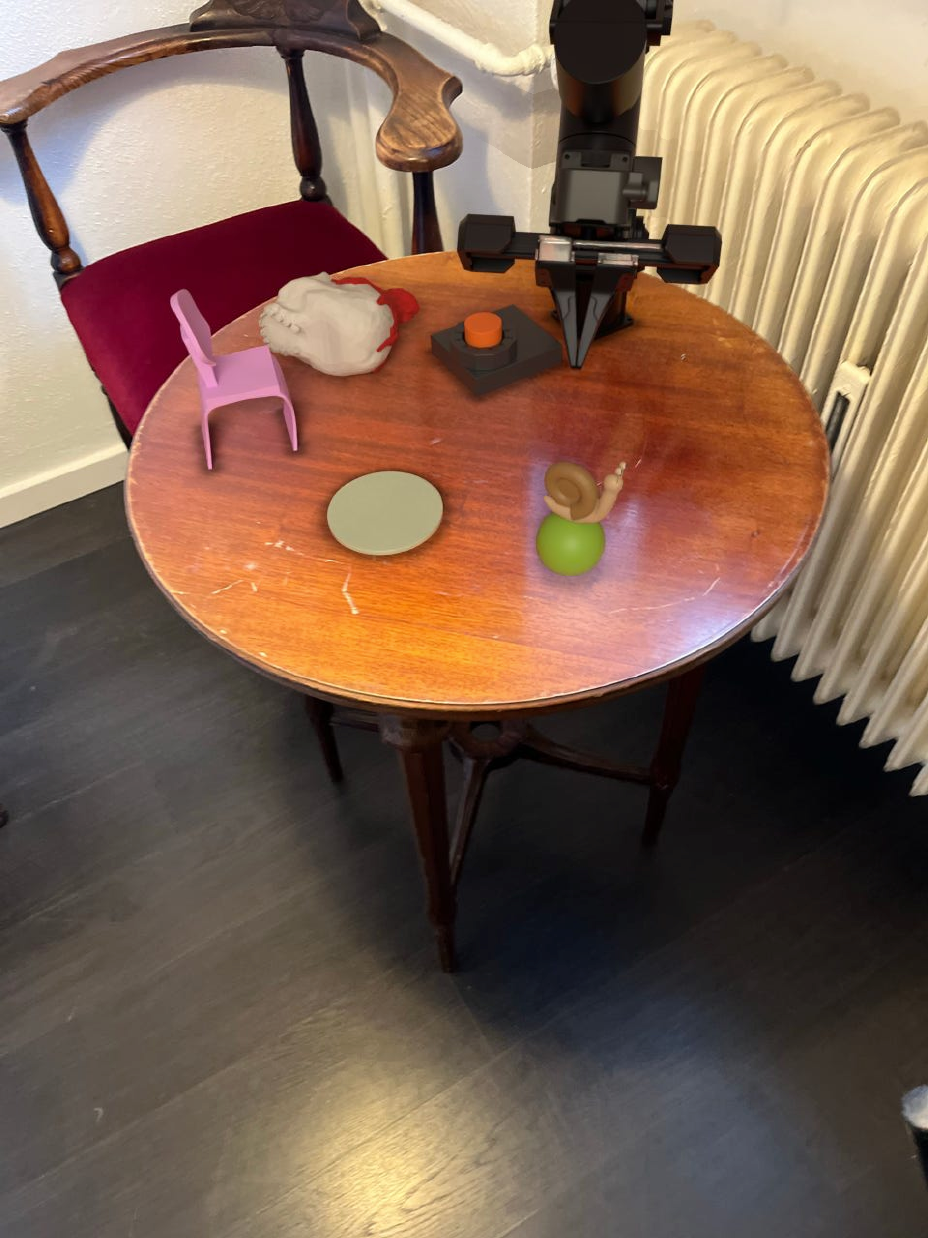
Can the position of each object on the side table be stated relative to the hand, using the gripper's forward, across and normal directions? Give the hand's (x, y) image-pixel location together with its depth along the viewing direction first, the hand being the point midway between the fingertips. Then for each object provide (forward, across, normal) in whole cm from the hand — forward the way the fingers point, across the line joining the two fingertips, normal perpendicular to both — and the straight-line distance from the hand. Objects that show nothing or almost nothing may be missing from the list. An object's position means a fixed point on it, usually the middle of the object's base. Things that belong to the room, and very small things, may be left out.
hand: (575, 369), depth 67 cm
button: (-5, -9, +20) cm, 23 cm away
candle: (-3, -22, +24) cm, 33 cm away
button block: (-4, -8, +24) cm, 26 cm away
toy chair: (+6, -30, +14) cm, 33 cm away
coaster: (+12, -15, +7) cm, 21 cm away
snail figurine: (+15, +1, +3) cm, 16 cm away
